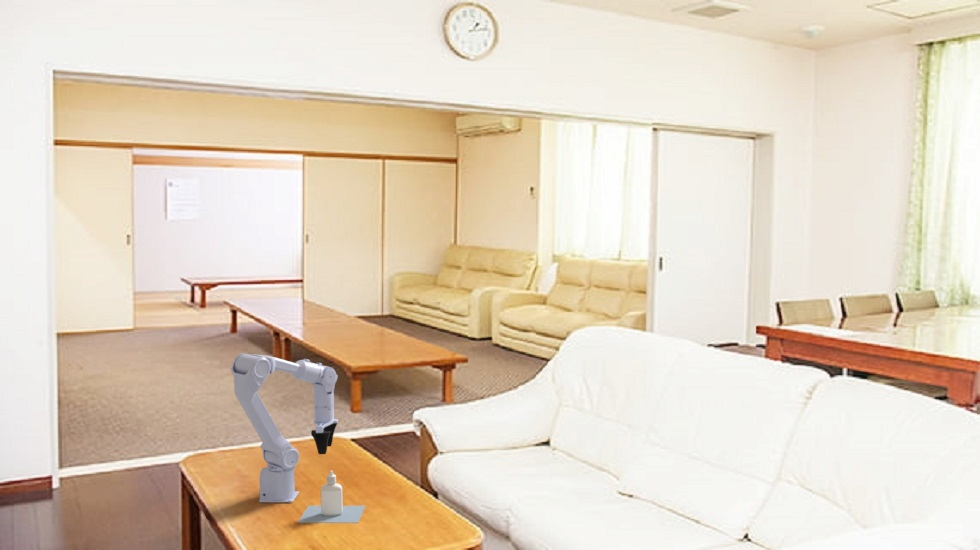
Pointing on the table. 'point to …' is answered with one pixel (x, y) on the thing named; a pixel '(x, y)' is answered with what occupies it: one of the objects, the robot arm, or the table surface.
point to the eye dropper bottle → (331, 497)
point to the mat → (348, 516)
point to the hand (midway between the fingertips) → (325, 449)
